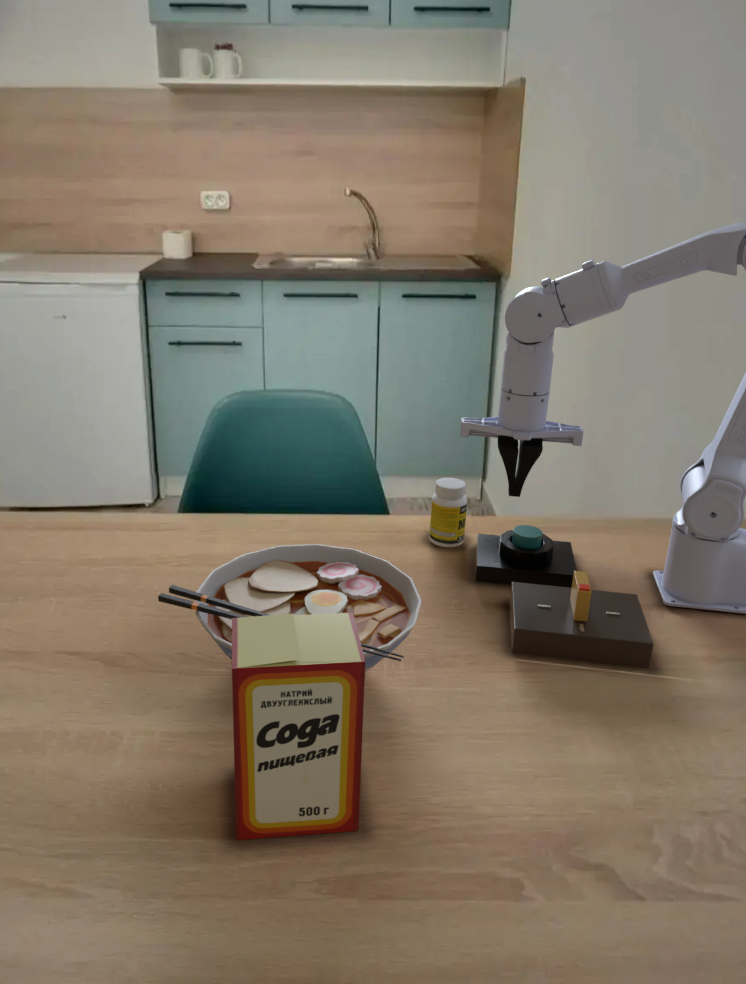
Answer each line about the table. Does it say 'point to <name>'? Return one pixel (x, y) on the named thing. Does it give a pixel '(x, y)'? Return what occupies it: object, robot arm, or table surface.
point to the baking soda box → (297, 724)
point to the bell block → (523, 561)
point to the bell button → (527, 536)
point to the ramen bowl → (308, 593)
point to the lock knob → (580, 596)
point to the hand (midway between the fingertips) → (514, 493)
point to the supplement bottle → (448, 513)
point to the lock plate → (579, 626)
